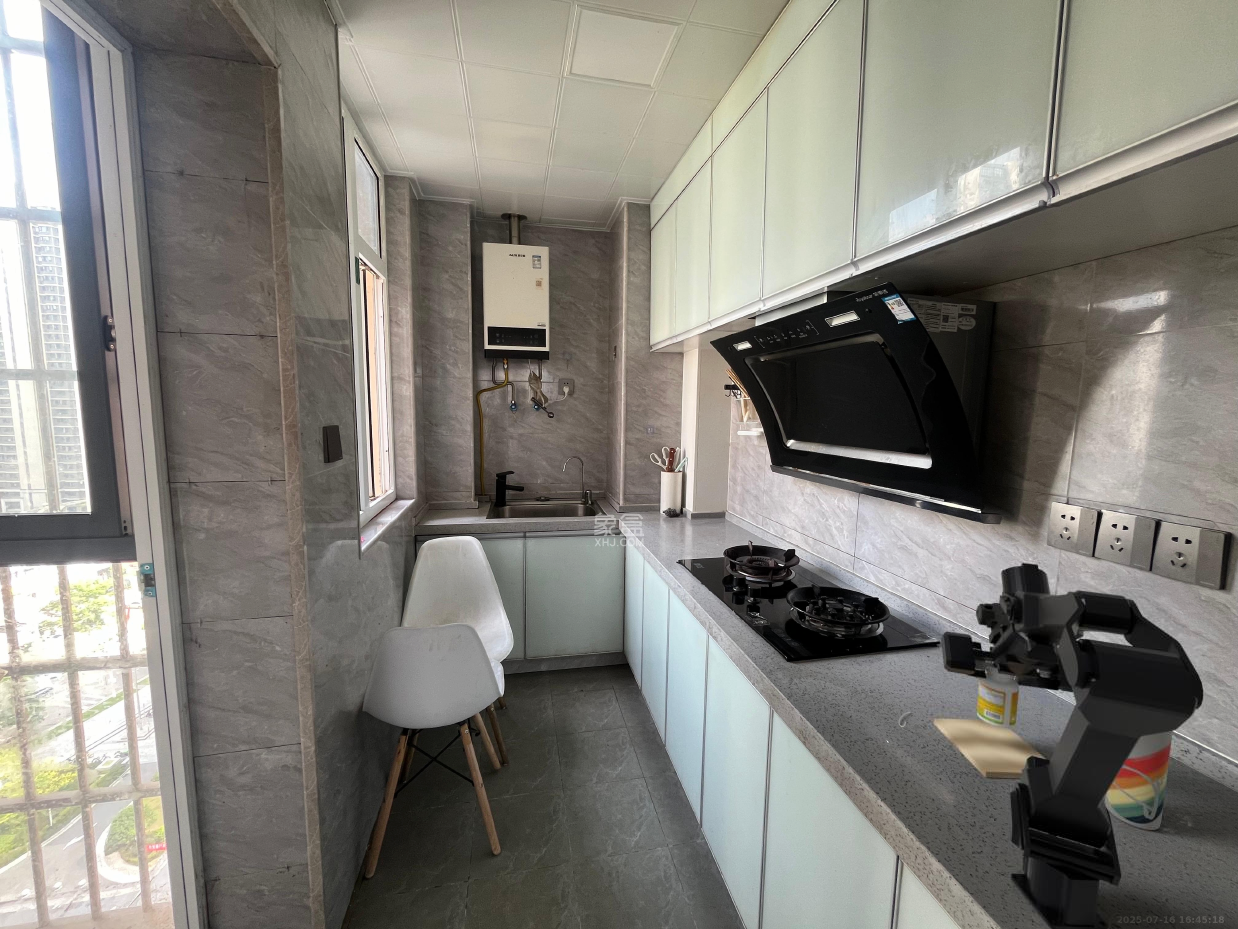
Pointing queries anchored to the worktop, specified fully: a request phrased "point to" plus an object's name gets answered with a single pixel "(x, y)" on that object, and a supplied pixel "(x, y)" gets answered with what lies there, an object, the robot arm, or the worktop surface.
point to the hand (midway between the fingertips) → (996, 678)
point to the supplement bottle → (998, 699)
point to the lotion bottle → (1142, 783)
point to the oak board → (988, 746)
